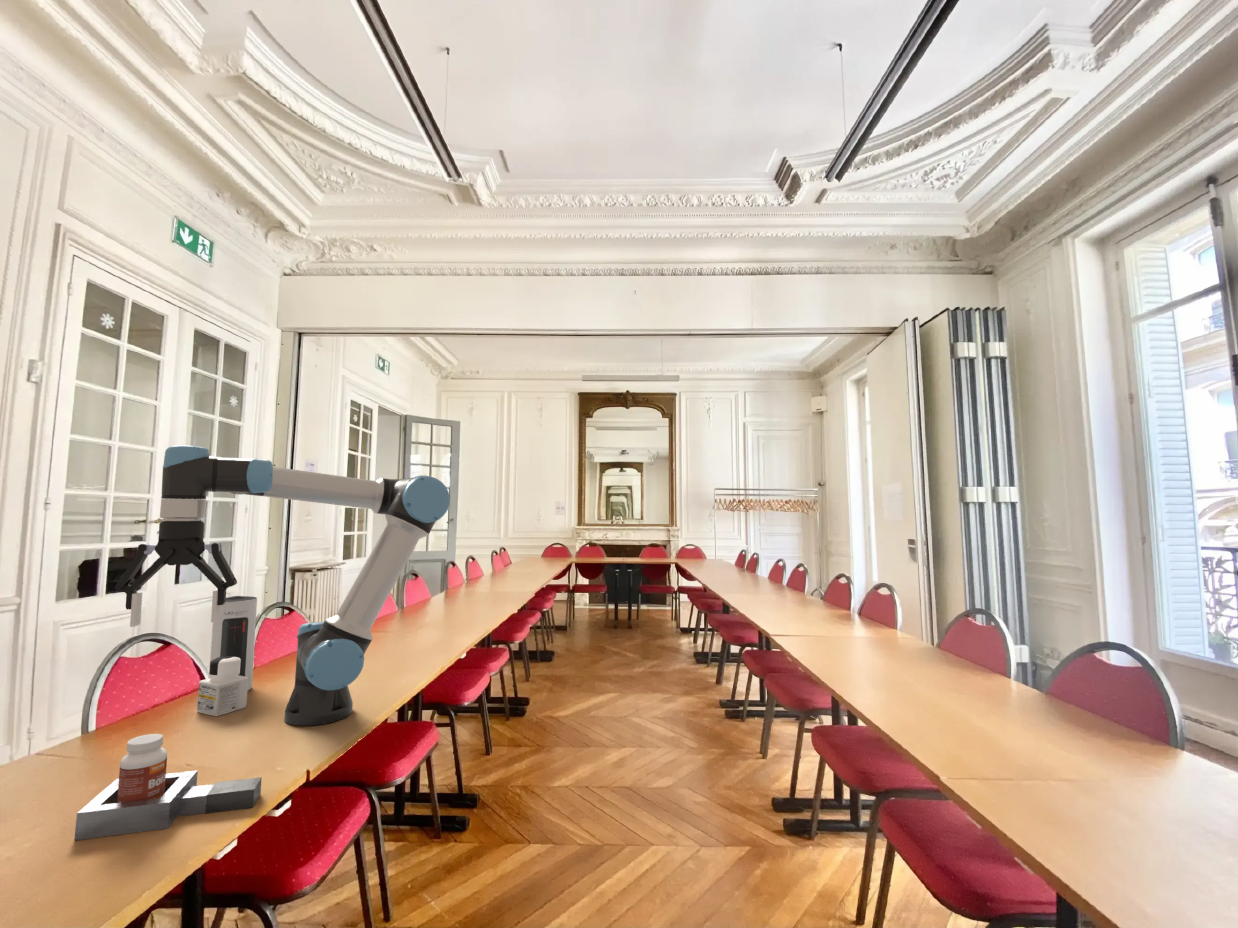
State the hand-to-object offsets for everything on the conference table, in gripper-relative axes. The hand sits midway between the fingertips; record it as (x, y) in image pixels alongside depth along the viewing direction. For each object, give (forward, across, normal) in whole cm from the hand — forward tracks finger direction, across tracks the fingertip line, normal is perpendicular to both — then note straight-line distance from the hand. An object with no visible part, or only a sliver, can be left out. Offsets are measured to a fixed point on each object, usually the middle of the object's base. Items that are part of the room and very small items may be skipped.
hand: (175, 623), depth 118 cm
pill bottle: (+26, -3, +23) cm, 35 cm away
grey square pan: (+27, -9, +23) cm, 37 cm away
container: (+28, -2, -32) cm, 42 cm away
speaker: (+28, 0, -49) cm, 56 cm away
